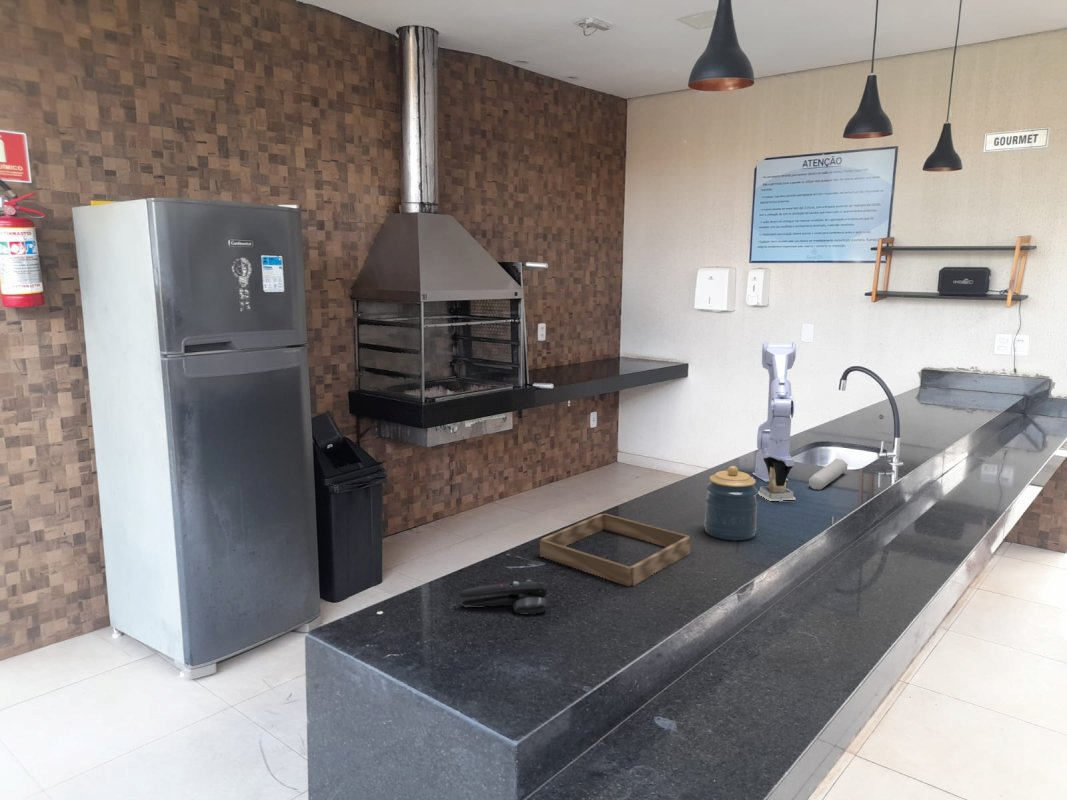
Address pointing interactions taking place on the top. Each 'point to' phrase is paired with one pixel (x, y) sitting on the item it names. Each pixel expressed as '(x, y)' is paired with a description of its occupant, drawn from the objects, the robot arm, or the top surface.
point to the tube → (828, 474)
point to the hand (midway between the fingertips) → (776, 483)
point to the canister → (731, 505)
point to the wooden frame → (613, 571)
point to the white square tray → (767, 493)
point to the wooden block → (772, 483)
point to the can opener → (510, 596)
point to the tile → (775, 499)
